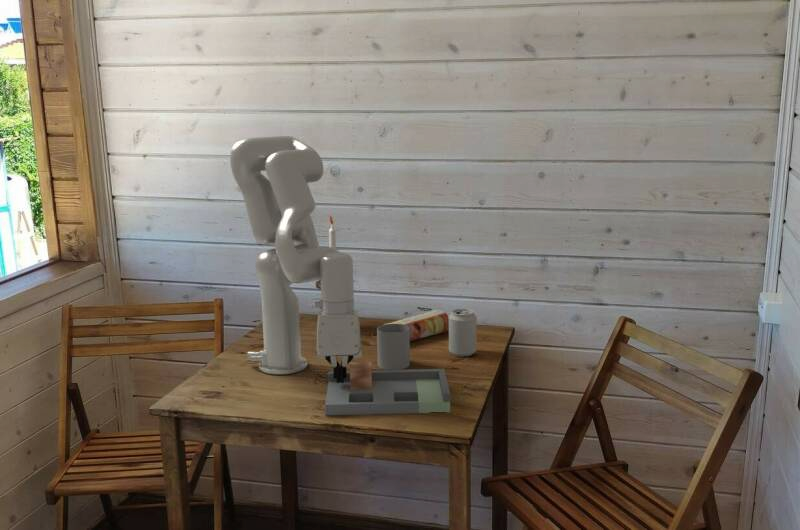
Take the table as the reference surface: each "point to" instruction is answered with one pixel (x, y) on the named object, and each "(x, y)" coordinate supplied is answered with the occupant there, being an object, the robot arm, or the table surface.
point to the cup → (393, 346)
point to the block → (361, 375)
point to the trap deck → (390, 393)
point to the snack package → (425, 324)
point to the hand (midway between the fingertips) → (340, 381)
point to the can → (462, 332)
